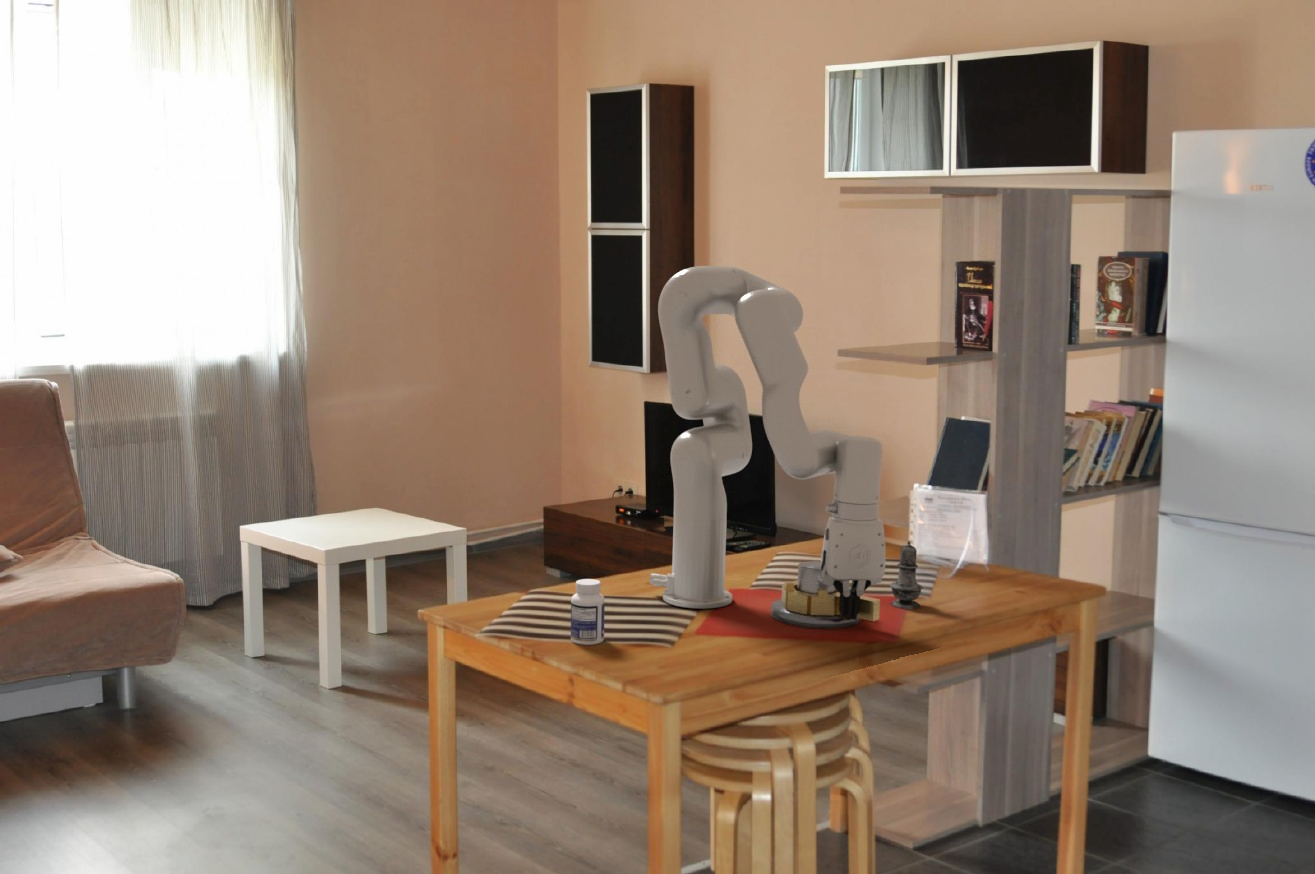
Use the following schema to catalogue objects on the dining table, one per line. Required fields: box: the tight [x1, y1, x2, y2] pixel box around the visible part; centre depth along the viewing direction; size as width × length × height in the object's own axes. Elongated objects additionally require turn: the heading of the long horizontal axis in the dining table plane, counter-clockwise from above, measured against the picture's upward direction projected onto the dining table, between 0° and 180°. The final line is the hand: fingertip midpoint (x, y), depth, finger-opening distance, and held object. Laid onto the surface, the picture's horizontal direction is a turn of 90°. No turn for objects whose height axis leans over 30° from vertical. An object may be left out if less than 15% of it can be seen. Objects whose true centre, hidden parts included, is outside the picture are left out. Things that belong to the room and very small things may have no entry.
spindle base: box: [770, 560, 862, 630], centre depth 232 cm, size 16×16×9 cm
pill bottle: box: [570, 578, 606, 646], centre depth 213 cm, size 5×5×10 cm
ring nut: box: [781, 579, 881, 622], centre depth 230 cm, size 18×12×4 cm, turn 49°
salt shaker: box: [889, 540, 924, 610], centre depth 241 cm, size 6×6×12 cm
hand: (848, 617), depth 224 cm, fingers closed
